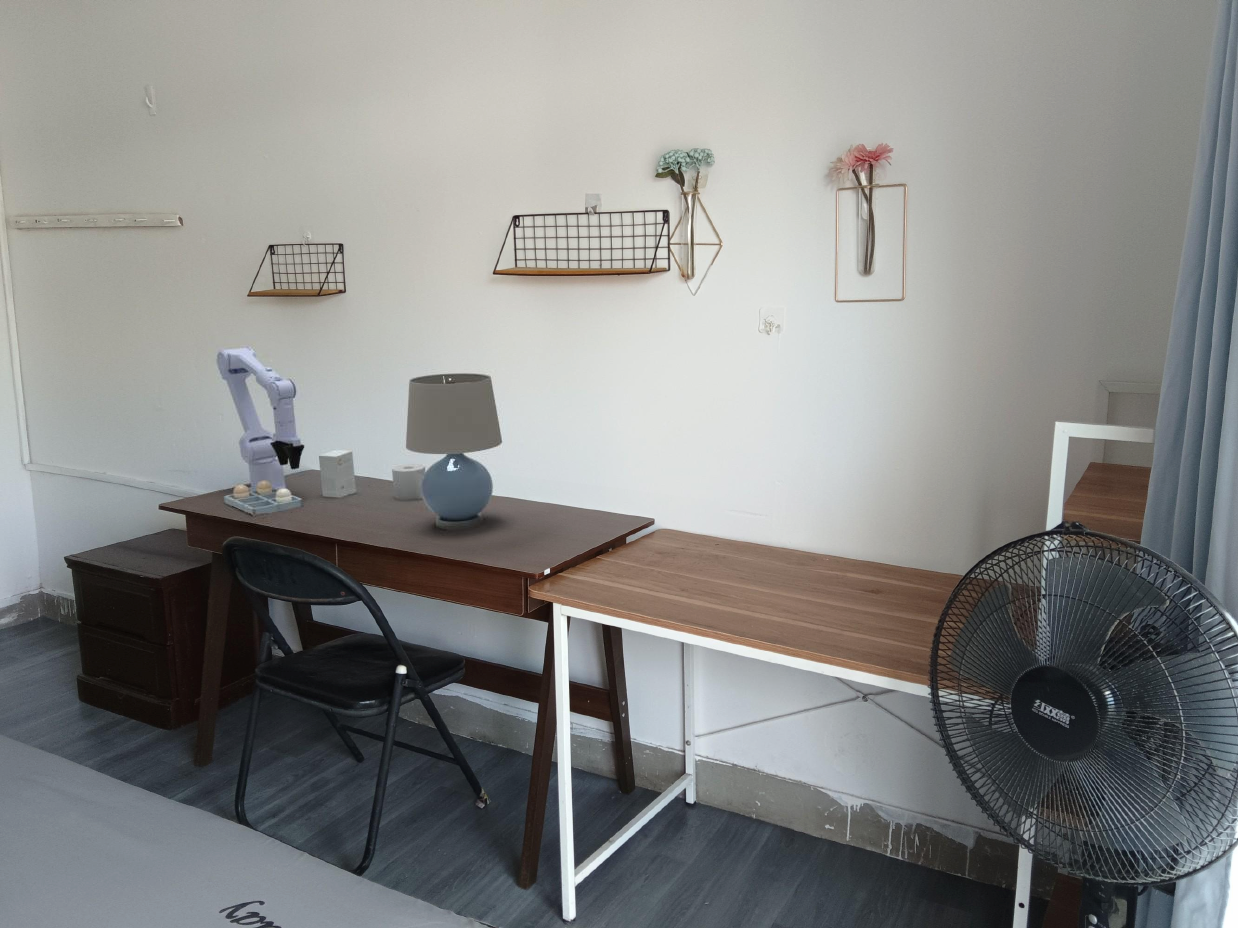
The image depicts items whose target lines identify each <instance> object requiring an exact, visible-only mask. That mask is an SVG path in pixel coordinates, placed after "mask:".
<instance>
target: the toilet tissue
mask: <svg viewBox="0 0 1238 928" xmlns="http://www.w3.org/2000/svg"><path fill="white" fill-rule="evenodd" d="M391 472H392V485H393V486H392V488H393V497H394V499H397V500H402V501H411V500H423V497H422V493H421V483H422V479H423V476H424V474H425V472H426V466H425V465H423V464H418V463H412V464H411V463H410V464H408V463H407V464H400V465H396V466H394V467H393V468H392V469H391Z"/></svg>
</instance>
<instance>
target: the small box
mask: <svg viewBox="0 0 1238 928" xmlns="http://www.w3.org/2000/svg"><path fill="white" fill-rule="evenodd" d="M353 457H354V455H353V451H352V450H345V449H343V450H342V449H334V450H332V451H328V452H326V453H322V454H319V455H318V461H319V469H320V471H319V472H320V478H321V481H320V482H321V491H322V497H325V498H326V497H328V498H337V499H340V498H344V497H345V496H348V495H350V494H351V495H353V494H356V493H357V488H356V486H357V485H356V478H355V467H354V466H355V465H354V458H353Z"/></svg>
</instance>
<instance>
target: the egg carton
mask: <svg viewBox="0 0 1238 928" xmlns="http://www.w3.org/2000/svg"><path fill="white" fill-rule="evenodd" d="M278 490H279V489H276V488H274V487H272V493H267V494H262V495H257V490H253V491H251V490H249V495H250V497H246V498H241V499H236V500H235V499H234V493H232V494H228V495H223V503H224V504H226V505H229V506H230V507H232V506H234V507H236V508H238V509H241V510H243V511H245V512H248V513H251V514H260V513H269V514H274V513H278V512H282V511H288V510H292V509H297V508H302V507H304V506H305V505H304V500H303V498H300V497H298V496H295V495H293V494H291V496H292V501H289V502H284V503H279V504H278V503H276V492H277V491H278ZM234 507H233V508H234ZM236 508H235V509H236ZM238 509H237V510H238ZM243 511H242V512H243ZM245 512H244V513H245ZM273 512H274V513H273Z"/></svg>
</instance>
